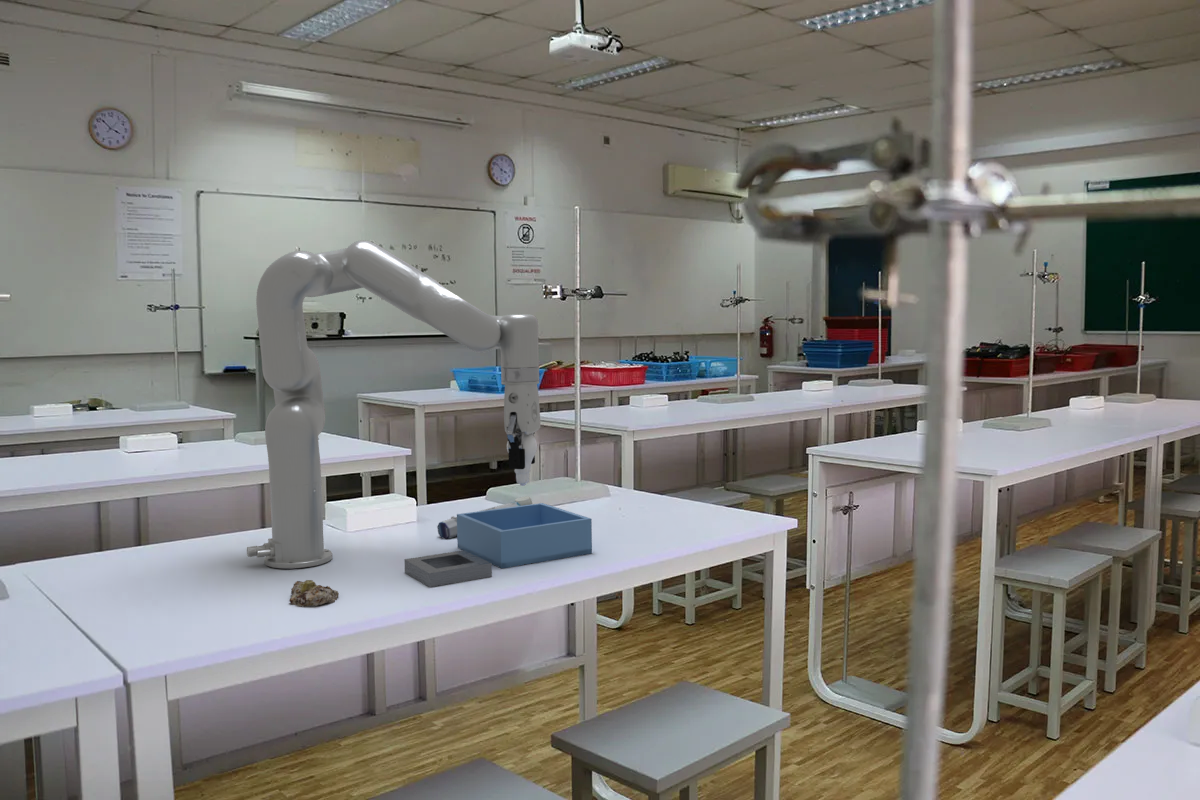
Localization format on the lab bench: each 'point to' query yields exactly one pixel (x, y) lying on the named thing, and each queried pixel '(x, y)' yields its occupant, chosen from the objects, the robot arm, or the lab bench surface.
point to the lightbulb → (526, 458)
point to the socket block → (447, 568)
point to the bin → (524, 534)
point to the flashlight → (450, 526)
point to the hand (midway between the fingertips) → (522, 465)
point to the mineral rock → (311, 594)
